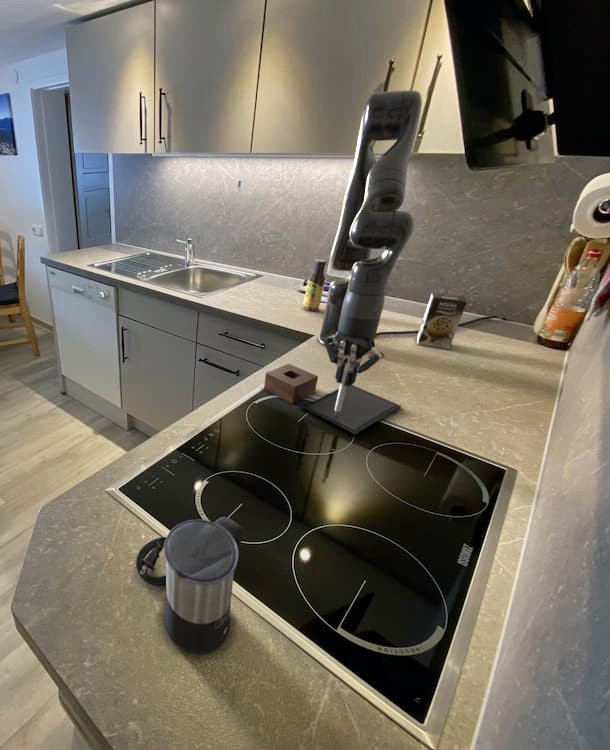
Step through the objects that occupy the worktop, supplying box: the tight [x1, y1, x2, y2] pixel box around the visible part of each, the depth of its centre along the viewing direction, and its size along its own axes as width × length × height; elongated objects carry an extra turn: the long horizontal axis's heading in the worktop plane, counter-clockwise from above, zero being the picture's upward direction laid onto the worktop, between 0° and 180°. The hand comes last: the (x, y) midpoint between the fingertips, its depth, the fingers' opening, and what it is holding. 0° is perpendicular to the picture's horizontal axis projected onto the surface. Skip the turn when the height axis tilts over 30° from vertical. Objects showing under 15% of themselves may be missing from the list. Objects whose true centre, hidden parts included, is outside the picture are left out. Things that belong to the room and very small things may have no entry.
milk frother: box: [135, 516, 244, 655], centre depth 57 cm, size 14×16×15 cm
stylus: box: [334, 362, 350, 415], centre depth 96 cm, size 1×1×14 cm
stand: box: [263, 363, 319, 405], centre depth 111 cm, size 9×9×5 cm
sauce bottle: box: [302, 258, 327, 312], centre depth 164 cm, size 6×6×20 cm
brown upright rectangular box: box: [416, 292, 468, 350], centre depth 134 cm, size 9×6×16 cm
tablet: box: [301, 384, 402, 438], centre depth 103 cm, size 20×14×1 cm
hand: (343, 383), depth 95 cm, fingers closed on stylus, 1 cm apart
